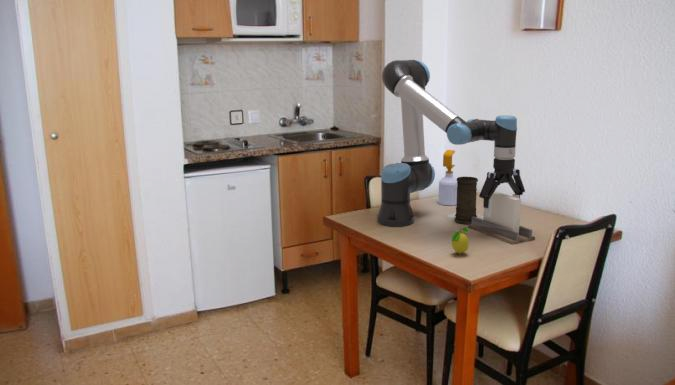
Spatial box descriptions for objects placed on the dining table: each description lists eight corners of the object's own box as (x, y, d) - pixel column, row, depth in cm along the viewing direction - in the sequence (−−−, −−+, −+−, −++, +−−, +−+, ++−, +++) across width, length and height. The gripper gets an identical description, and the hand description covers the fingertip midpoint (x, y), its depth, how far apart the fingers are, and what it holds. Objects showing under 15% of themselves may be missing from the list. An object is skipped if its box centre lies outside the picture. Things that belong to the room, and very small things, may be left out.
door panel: (512, 237, 204) (514, 199, 201) (483, 225, 218) (484, 191, 215) (520, 235, 205) (522, 198, 202) (490, 224, 219) (491, 190, 216)
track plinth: (512, 244, 199) (512, 233, 198) (468, 227, 220) (468, 217, 219) (534, 239, 204) (535, 229, 203) (489, 223, 225) (490, 213, 224)
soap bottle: (461, 202, 258) (463, 149, 252) (454, 206, 251) (455, 152, 245) (442, 200, 263) (444, 148, 257) (435, 204, 255) (436, 151, 250)
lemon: (468, 251, 193) (469, 223, 190) (471, 256, 187) (472, 228, 185) (448, 251, 193) (449, 223, 191) (451, 256, 187) (452, 228, 185)
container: (477, 224, 223) (479, 181, 219) (454, 224, 225) (456, 180, 220) (476, 218, 231) (478, 176, 227) (454, 217, 233) (455, 175, 229)
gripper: (484, 162, 196) (482, 220, 201) (537, 156, 207) (533, 211, 212) (470, 159, 203) (468, 215, 208) (522, 153, 214) (518, 207, 219)
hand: (501, 213), depth 210 cm, fingers open, 13 cm apart
